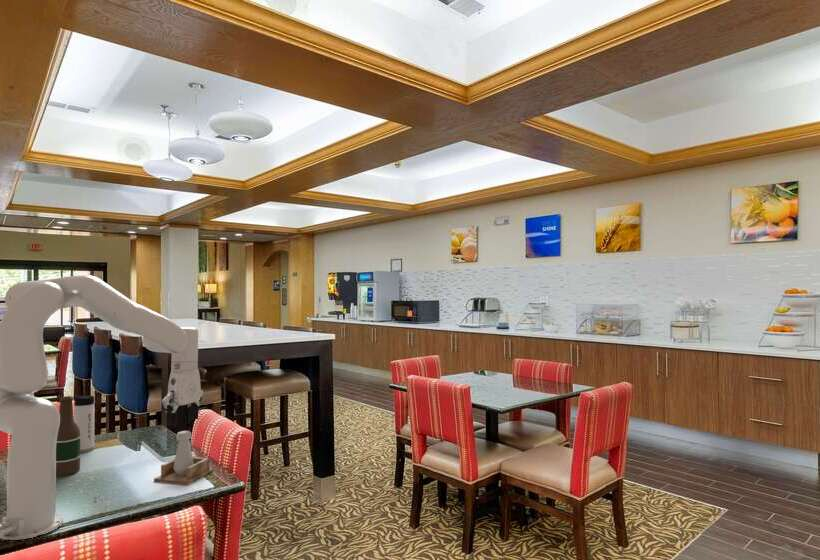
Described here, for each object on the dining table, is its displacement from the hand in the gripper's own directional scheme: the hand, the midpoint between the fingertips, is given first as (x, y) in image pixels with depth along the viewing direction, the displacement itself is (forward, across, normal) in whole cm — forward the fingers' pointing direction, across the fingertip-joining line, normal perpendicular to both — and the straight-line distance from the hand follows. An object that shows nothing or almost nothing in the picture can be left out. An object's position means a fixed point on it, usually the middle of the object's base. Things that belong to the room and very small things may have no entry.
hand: (182, 422), depth 160 cm
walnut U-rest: (+17, +1, 0) cm, 17 cm away
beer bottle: (+18, -6, +39) cm, 43 cm away
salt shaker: (+16, +1, 0) cm, 16 cm away
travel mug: (+17, +14, +54) cm, 58 cm away
